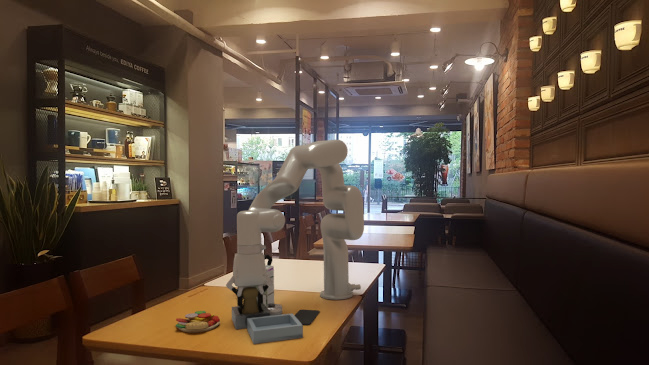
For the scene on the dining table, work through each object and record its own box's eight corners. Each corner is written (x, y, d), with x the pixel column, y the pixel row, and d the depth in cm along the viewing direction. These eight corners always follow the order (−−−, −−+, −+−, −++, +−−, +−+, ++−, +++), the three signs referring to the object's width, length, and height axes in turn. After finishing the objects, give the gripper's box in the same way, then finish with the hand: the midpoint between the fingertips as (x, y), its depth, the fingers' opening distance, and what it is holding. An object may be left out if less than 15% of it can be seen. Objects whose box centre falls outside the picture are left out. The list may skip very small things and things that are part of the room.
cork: (256, 325, 135) (255, 290, 135) (237, 324, 137) (237, 289, 137) (262, 319, 141) (262, 285, 141) (245, 318, 143) (244, 284, 143)
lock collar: (279, 310, 152) (279, 298, 152) (289, 323, 138) (289, 310, 138) (230, 315, 146) (230, 303, 146) (235, 329, 132) (235, 316, 132)
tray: (292, 324, 136) (292, 313, 136) (302, 337, 125) (302, 325, 125) (247, 330, 132) (247, 318, 132) (253, 344, 120) (253, 331, 120)
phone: (320, 310, 150) (309, 324, 135) (320, 312, 150) (309, 326, 135) (299, 309, 151) (286, 322, 137) (299, 311, 151) (286, 325, 137)
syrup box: (274, 305, 157) (274, 265, 157) (267, 310, 152) (266, 268, 152) (260, 304, 159) (260, 264, 159) (252, 308, 154) (252, 267, 154)
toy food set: (195, 337, 127) (195, 326, 127) (165, 330, 134) (165, 319, 134) (228, 324, 138) (228, 314, 138) (199, 318, 145) (199, 308, 145)
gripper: (273, 246, 145) (274, 301, 145) (220, 249, 140) (221, 306, 140) (278, 249, 138) (279, 307, 138) (222, 253, 133) (223, 313, 133)
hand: (250, 306), depth 139 cm, fingers closed on cork, 5 cm apart
